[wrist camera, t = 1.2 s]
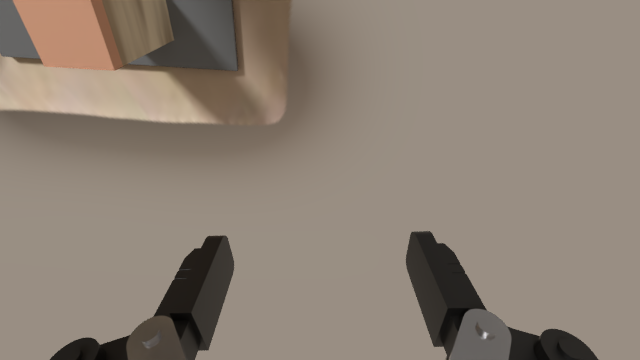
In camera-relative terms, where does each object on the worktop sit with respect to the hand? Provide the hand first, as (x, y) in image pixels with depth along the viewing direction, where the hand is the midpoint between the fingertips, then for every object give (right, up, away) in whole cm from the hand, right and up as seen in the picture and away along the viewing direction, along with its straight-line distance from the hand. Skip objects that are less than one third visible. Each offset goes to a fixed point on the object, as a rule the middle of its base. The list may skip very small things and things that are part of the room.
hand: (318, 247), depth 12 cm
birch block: (-17, +20, +15) cm, 31 cm away
